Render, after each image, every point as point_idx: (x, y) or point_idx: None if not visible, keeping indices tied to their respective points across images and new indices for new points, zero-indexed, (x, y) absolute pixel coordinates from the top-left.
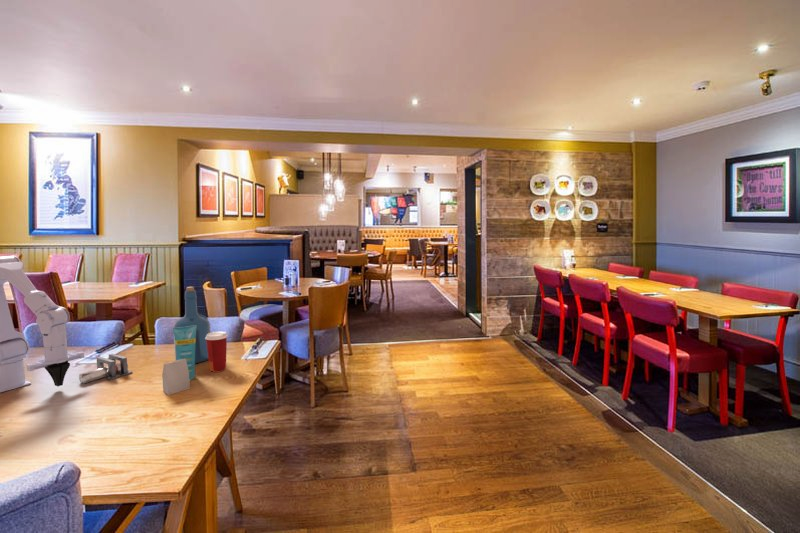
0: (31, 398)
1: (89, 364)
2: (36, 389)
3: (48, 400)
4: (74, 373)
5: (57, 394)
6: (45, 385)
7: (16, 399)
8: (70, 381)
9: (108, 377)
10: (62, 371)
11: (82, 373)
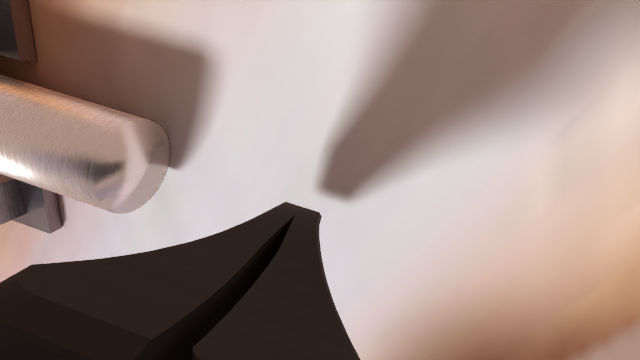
0: (482, 268)
1: None
2: None
3: (519, 86)
4: None
5: (379, 142)
6: None
7: (508, 346)
8: None
9: (3, 22)
10: (214, 273)
11: (81, 187)
